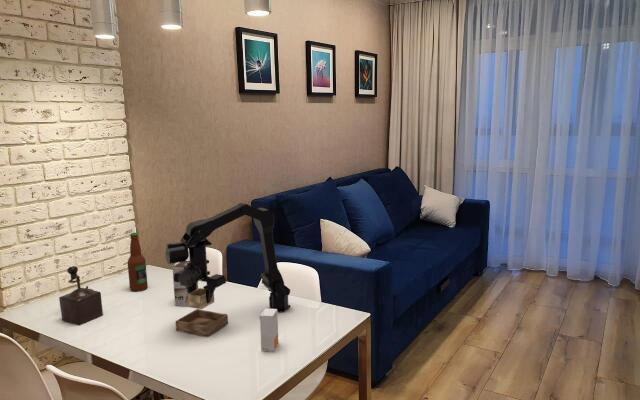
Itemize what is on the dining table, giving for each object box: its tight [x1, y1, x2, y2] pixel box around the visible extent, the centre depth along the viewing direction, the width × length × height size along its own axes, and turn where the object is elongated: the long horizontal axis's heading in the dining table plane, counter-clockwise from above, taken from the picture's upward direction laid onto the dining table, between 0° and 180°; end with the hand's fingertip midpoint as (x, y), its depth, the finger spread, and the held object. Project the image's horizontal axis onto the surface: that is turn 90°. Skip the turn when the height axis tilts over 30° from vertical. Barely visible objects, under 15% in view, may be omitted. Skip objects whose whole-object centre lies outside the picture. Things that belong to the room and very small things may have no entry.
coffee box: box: [172, 260, 199, 307], centre depth 193 cm, size 9×6×16 cm
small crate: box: [187, 287, 215, 310], centre depth 169 cm, size 6×7×4 cm
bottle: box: [127, 232, 149, 293], centre depth 208 cm, size 7×7×25 cm
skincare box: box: [259, 307, 279, 353], centre depth 153 cm, size 6×4×12 cm
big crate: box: [175, 308, 229, 338], centre depth 170 cm, size 14×12×4 cm
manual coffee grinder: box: [58, 265, 104, 326], centre depth 181 cm, size 16×11×18 cm
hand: (201, 301), depth 169 cm, fingers closed on small crate, 6 cm apart
